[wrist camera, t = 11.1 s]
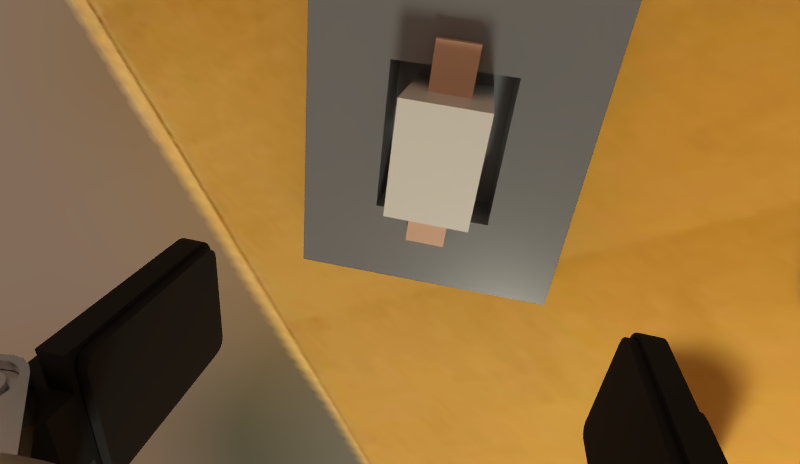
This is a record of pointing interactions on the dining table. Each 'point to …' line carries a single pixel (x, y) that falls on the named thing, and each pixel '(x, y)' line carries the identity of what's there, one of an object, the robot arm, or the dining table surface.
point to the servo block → (440, 144)
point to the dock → (507, 146)
